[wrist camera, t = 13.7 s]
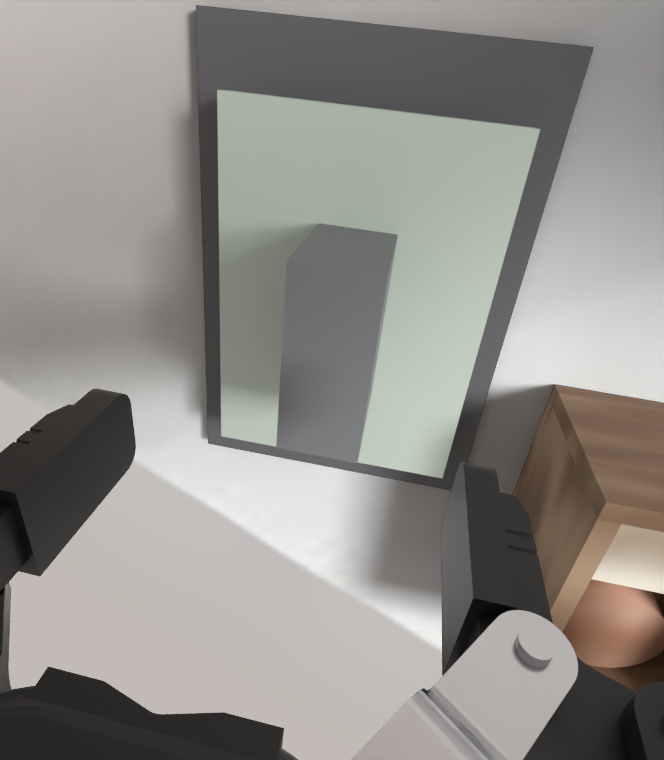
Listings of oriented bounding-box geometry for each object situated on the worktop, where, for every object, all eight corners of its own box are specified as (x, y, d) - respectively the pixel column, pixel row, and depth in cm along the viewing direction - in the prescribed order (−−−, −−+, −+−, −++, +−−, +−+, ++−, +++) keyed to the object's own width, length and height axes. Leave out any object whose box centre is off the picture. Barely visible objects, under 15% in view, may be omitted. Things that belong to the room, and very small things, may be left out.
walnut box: (554, 384, 24) (606, 502, 17) (781, 422, 23) (934, 564, 16) (480, 579, 31) (494, 719, 24) (650, 615, 30) (717, 771, 23)
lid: (238, 90, 19) (146, 86, 13) (528, 126, 18) (579, 139, 12) (236, 412, 27) (177, 506, 21) (441, 450, 26) (445, 562, 20)
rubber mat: (202, 7, 19) (195, 4, 18) (588, 48, 17) (593, 47, 17) (212, 437, 29) (208, 443, 28) (457, 484, 27) (457, 491, 27)
